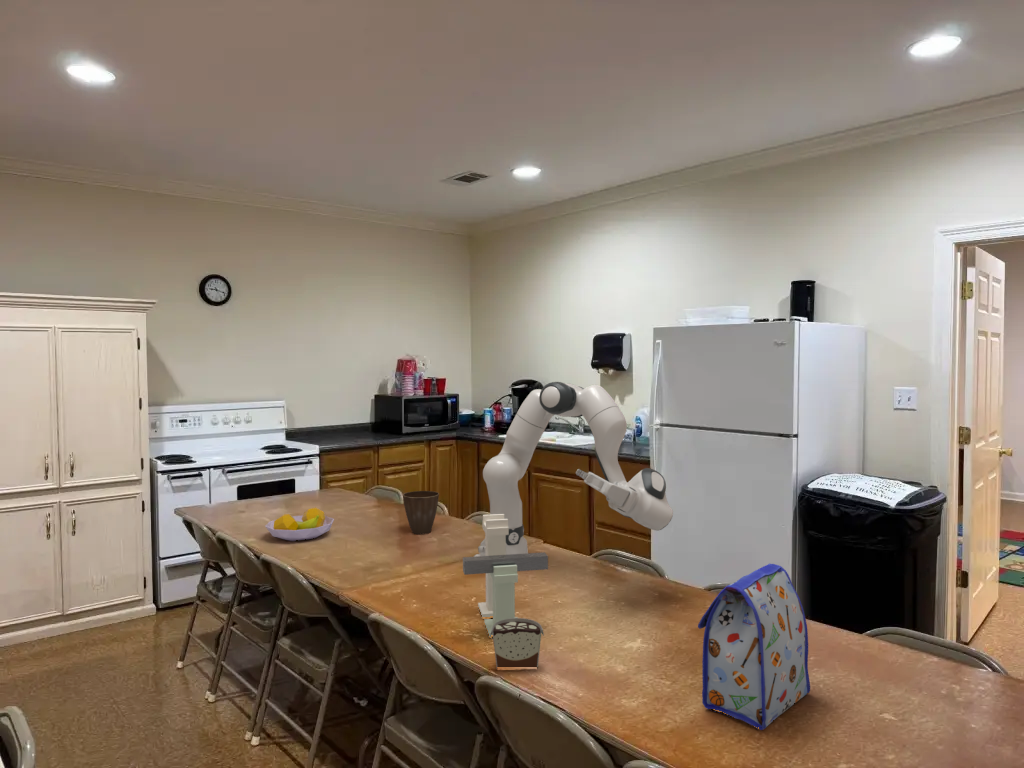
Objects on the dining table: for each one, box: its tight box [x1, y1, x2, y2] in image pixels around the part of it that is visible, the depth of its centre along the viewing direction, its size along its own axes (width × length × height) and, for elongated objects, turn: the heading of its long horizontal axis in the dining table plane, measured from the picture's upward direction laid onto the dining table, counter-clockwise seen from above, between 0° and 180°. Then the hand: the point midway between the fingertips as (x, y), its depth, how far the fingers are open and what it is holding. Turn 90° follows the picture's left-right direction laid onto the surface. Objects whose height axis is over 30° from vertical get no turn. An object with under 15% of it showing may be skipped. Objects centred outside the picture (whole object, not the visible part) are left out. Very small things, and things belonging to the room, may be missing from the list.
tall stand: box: [477, 513, 509, 618], centre depth 191 cm, size 9×9×27 cm
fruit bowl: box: [265, 506, 335, 542], centre depth 276 cm, size 28×27×11 cm
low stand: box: [483, 565, 519, 637], centre depth 178 cm, size 9×9×18 cm
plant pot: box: [402, 490, 440, 535], centre depth 282 cm, size 15×15×16 cm
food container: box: [490, 617, 545, 668], centre depth 158 cm, size 12×6×10 cm, turn 92°
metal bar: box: [462, 552, 549, 576], centre depth 178 cm, size 22×4×4 cm, turn 100°
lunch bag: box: [697, 563, 811, 731], centre depth 141 cm, size 23×17×27 cm
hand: (581, 474), depth 194 cm, fingers open, 8 cm apart
